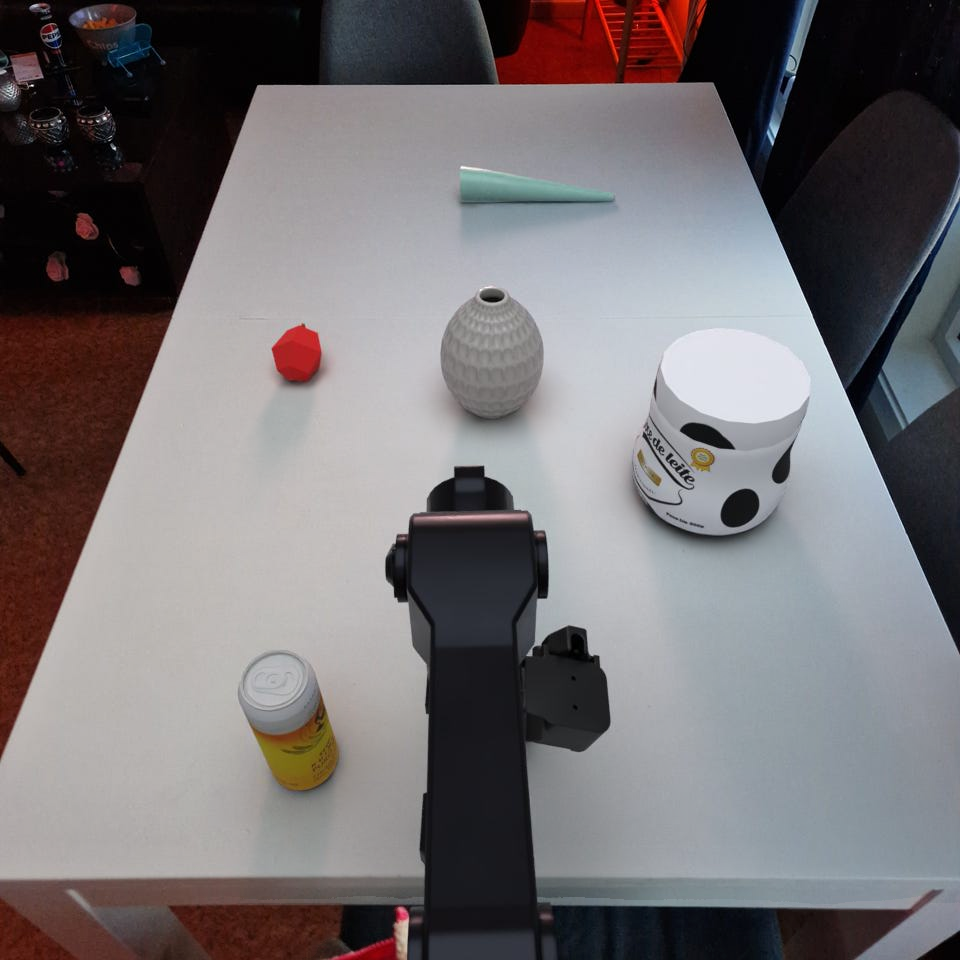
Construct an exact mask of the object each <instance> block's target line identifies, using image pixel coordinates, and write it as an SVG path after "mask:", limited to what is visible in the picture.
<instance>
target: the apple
mask: <svg viewBox="0 0 960 960" xmlns="http://www.w3.org/2000/svg"><path fill="white" fill-rule="evenodd" d="M321 346H322V345H321V342H320V337H319V332H317V331H314V330H312V329H310V328H307V327H306V325H305V323H304V322H302V323H301V324H298V325H296V326H294V327H291V328H289V329H287V330H286V331H285V332H284V333H283V334H282V336H280V338H279V339H278V340H277V341H276V342H275V344H274V345H272V347H271V352H272V357H273V360H274V364H275V368H276V371H277V372H278V373H279V374H280V375H282V376H283V377H284V378H285V379H286V380H287V381H291V382H292V381H294V382H304V383H308V382H309V381H310V379H311V378H312V377H313V376H314V374H315V373H316V372H317V371H318V370H319V369H320V366H321V360H322V351H323V350H322V347H321Z"/></svg>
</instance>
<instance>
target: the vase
mask: <svg viewBox="0 0 960 960" xmlns="http://www.w3.org/2000/svg"><path fill="white" fill-rule="evenodd" d="M440 344H441V345H440V353H439V354H440V355H439V357H440V360H439V361H440V368H441V374H442V377H443V380H444V382H445V385H446V387H447V389H448V391H449V392H450V394H451V395H452V396H453V398H454V399H455V400H456V402H458V403H459V404H460V405H461V407H462V408H464V409H465V410H467V411H468V412H470V413H472V414H474V415H476V416H478V417H481V418H484V419H499V418H503V417H506V416H508V415H510V414H512V413H514V412H515V411H517V410H519V409H520V408H521V407H522V406H523V405H525V403H526V402H528V400H529V399H530V398H531V396H532V395H533V394H534V392H535V391H536V389H537V387H538V386H539V385H538V384H539V382H540V379H541V378H542V374H543V368H544V358H545V357H544V356H545V355H544V353H545V351H544V342H543V338H542V335H541V332H540V329H539V326H538V325H537V323H536V321H535V319H534V317H533V316H532V314H531V313H530V312H529V311H528V309H527V308H526V307H525V306H524V305H523V304H522V303H520V302H519V301H517V299H515V298H514V297H511V296H510V294H509V292H508V291H507V290H506V289H505V288H502V287H499V286H494V285H493V286H485V287H482V288H480V289H478V290H477V291H476V293H475V295H474V296H472V297H471V298H469V299H468V300H466V301H465V302H464V303H462V304H461V305H460V307H459V308H458V309H457V310H456V311H455V312H454V313H453V315H452V316H451V318H450V320H449V321H448V323H447V325H446V327H445V329H444V332H443V335H442V338H441V343H440Z"/></svg>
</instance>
